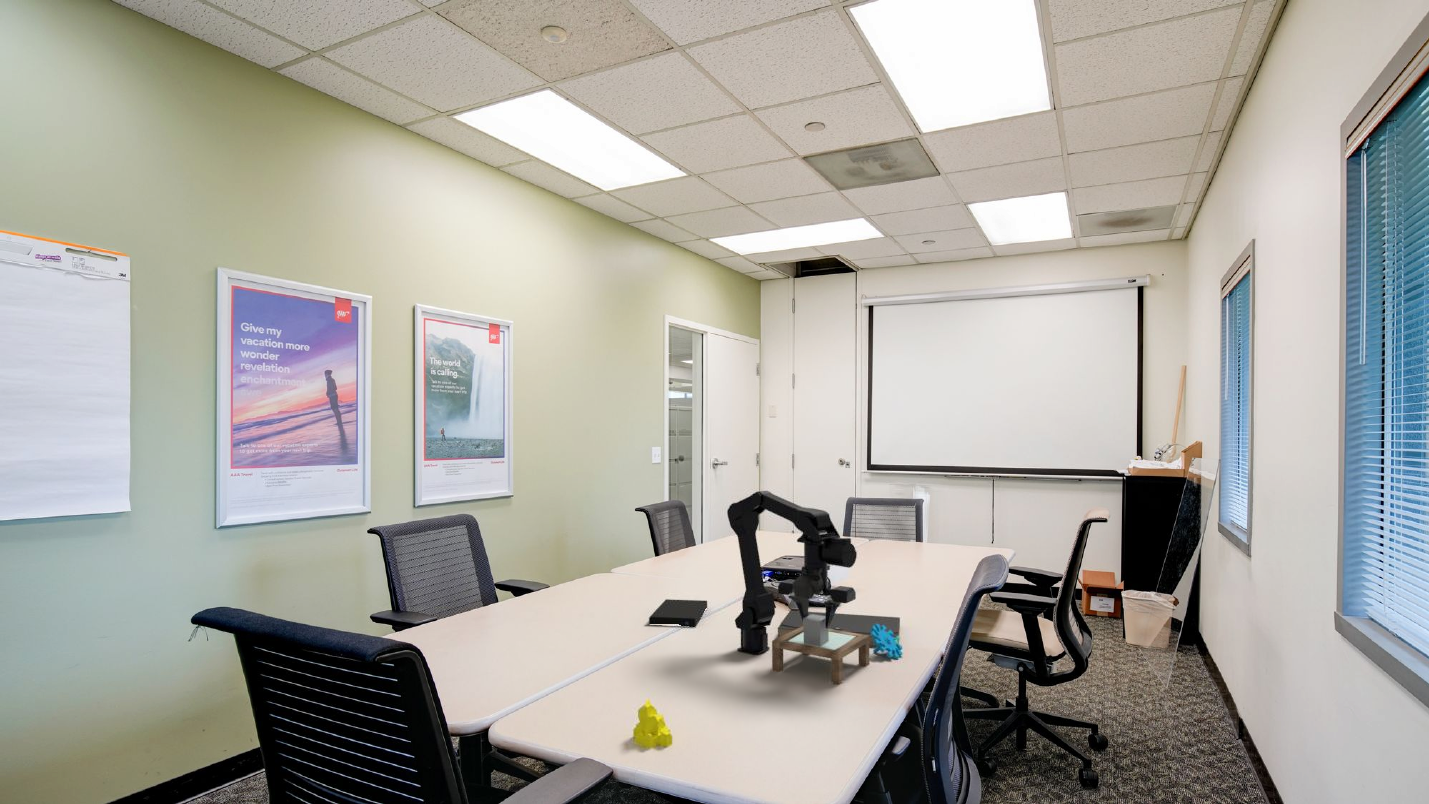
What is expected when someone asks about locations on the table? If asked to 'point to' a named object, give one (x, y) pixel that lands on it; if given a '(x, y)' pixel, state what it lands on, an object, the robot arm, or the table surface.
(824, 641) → the stone block
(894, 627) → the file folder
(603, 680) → the table surface
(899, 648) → the gear
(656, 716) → the yellow lumpy pyramid
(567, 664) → the table surface
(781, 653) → the frame
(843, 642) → the trapdoor
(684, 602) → the external hard drive
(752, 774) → the table surface
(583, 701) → the table surface
